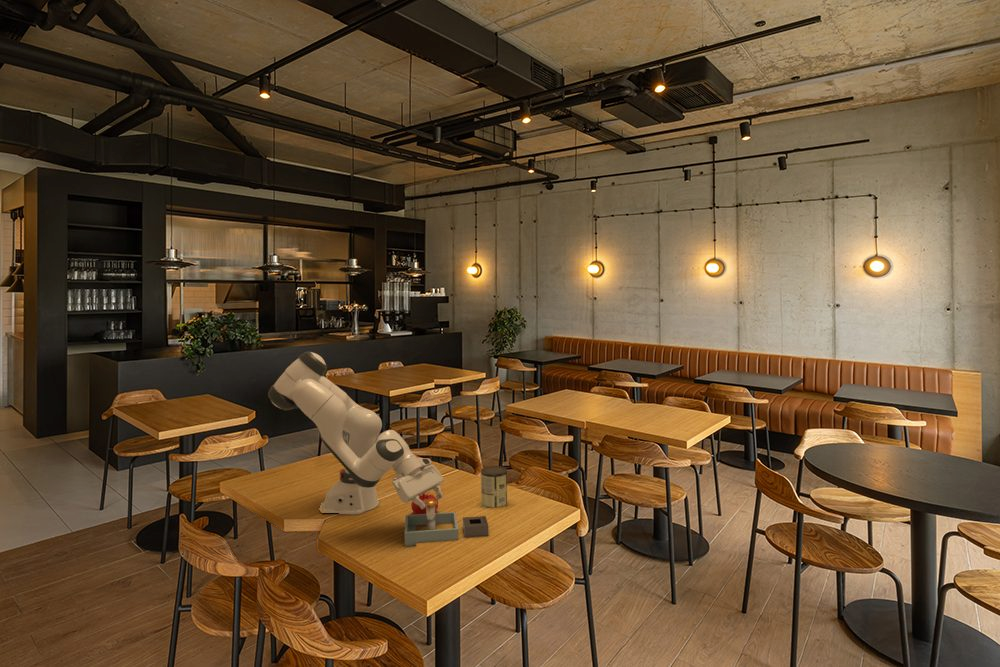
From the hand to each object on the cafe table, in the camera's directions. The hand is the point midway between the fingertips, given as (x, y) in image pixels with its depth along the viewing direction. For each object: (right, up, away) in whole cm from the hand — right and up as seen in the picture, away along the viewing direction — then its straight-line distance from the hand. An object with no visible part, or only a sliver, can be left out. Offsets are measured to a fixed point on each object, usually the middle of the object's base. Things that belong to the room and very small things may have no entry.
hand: (433, 502), depth 183 cm
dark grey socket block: (+14, -11, +1) cm, 18 cm away
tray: (-1, -11, +1) cm, 11 cm away
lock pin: (-1, -11, +1) cm, 11 cm away
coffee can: (+21, -10, +27) cm, 35 cm away
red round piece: (-5, -10, +18) cm, 22 cm away
